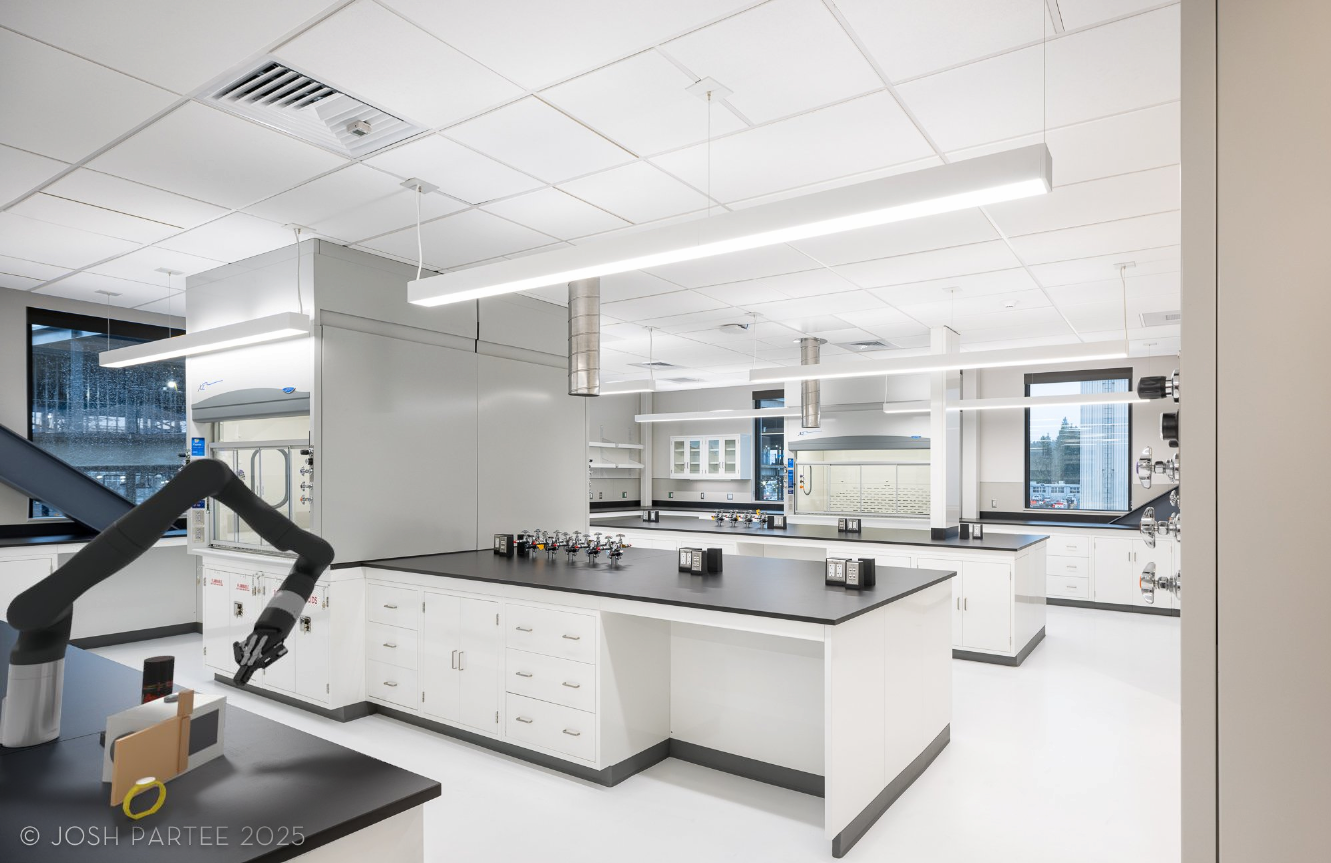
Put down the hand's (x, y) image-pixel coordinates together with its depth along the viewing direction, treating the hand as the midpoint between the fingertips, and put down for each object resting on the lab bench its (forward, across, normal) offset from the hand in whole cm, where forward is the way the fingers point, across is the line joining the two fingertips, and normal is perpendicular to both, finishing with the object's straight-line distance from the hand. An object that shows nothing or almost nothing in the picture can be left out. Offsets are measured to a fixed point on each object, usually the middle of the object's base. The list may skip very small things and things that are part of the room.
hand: (238, 684), depth 150 cm
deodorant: (+2, -30, +18) cm, 35 cm away
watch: (+30, +6, -9) cm, 31 cm away
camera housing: (+17, -7, +3) cm, 18 cm away
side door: (+23, 0, -5) cm, 24 cm away
